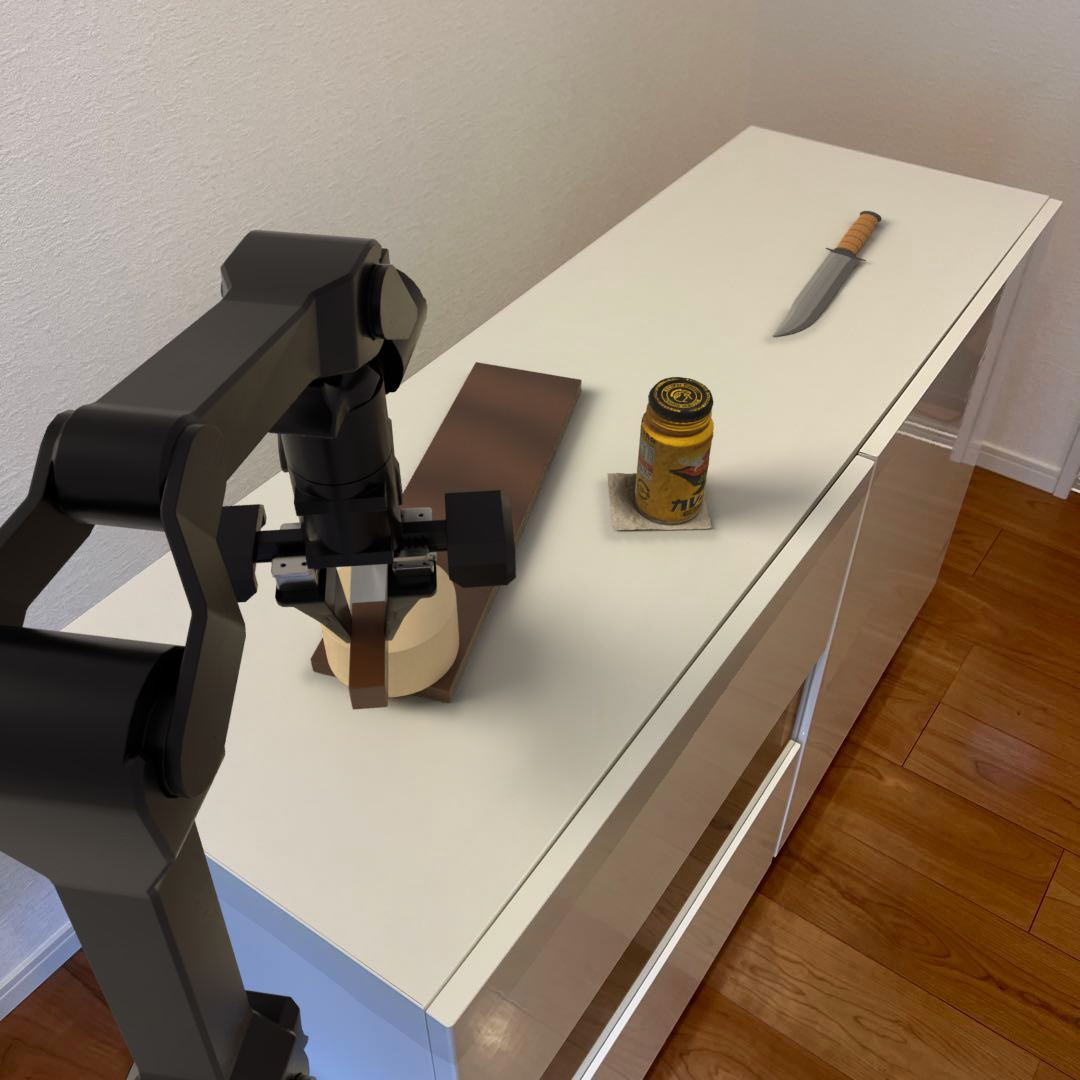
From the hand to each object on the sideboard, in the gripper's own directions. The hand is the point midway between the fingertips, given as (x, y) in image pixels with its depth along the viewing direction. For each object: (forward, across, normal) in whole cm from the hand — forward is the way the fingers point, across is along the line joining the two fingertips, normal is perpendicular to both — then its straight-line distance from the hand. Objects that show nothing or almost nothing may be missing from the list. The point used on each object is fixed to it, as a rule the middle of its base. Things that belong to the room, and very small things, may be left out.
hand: (370, 636), depth 69 cm
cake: (+10, 0, -7) cm, 12 cm away
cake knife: (+1, 0, -2) cm, 3 cm away
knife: (+12, -50, -60) cm, 79 cm away
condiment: (+12, -24, -23) cm, 35 cm away
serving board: (+12, -7, -23) cm, 27 cm away
